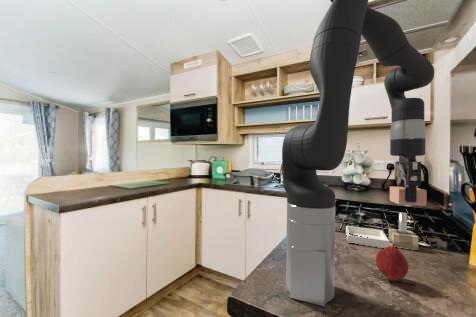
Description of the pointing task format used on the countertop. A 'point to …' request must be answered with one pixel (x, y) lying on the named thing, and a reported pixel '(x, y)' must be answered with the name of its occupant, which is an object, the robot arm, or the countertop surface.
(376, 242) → the tray
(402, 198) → the terracotta block
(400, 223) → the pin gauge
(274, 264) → the countertop surface
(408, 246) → the oak block
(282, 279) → the countertop surface
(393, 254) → the onion
